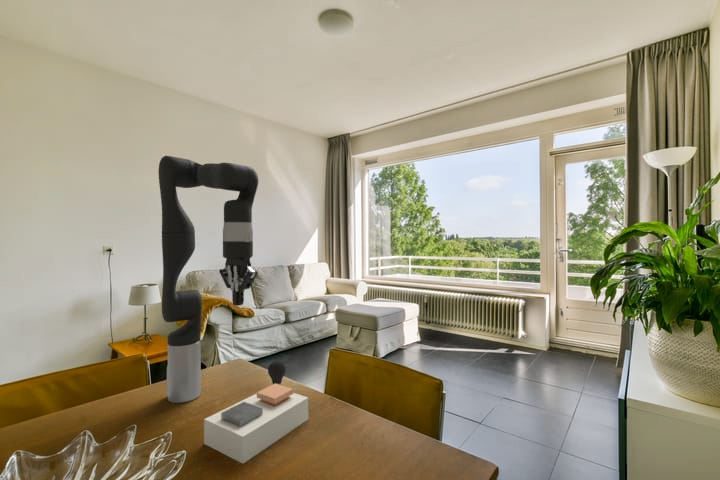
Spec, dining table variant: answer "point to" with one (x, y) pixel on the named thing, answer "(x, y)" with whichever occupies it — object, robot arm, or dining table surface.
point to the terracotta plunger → (275, 394)
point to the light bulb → (276, 371)
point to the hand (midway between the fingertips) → (238, 304)
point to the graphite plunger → (241, 414)
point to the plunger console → (255, 427)
